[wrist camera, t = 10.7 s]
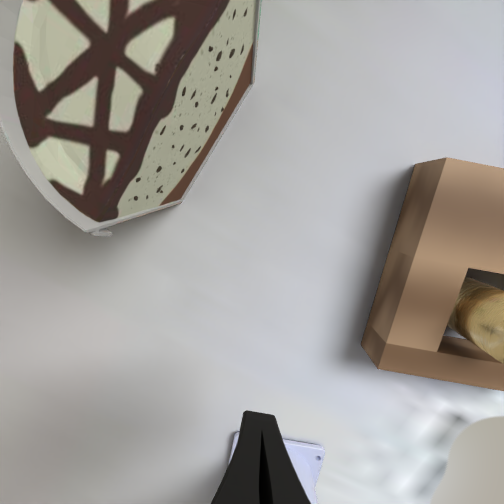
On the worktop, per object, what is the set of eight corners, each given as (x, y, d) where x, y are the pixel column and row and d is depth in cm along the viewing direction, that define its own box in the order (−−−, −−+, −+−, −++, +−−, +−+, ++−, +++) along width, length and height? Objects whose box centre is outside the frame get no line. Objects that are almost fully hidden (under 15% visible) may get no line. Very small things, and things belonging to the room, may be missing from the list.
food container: (185, -2, 16) (72, -316, 6) (267, 60, 17) (282, -135, 7) (96, 170, 18) (-90, 141, 8) (171, 219, 19) (78, 245, 9)
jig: (516, 372, 21) (559, 400, 18) (360, 344, 21) (377, 368, 18) (596, 198, 18) (663, 199, 15) (415, 163, 18) (446, 157, 15)
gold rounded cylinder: (475, 329, 20) (544, 371, 15) (425, 321, 20) (479, 361, 15) (493, 281, 19) (573, 310, 14) (441, 272, 19) (504, 298, 14)
